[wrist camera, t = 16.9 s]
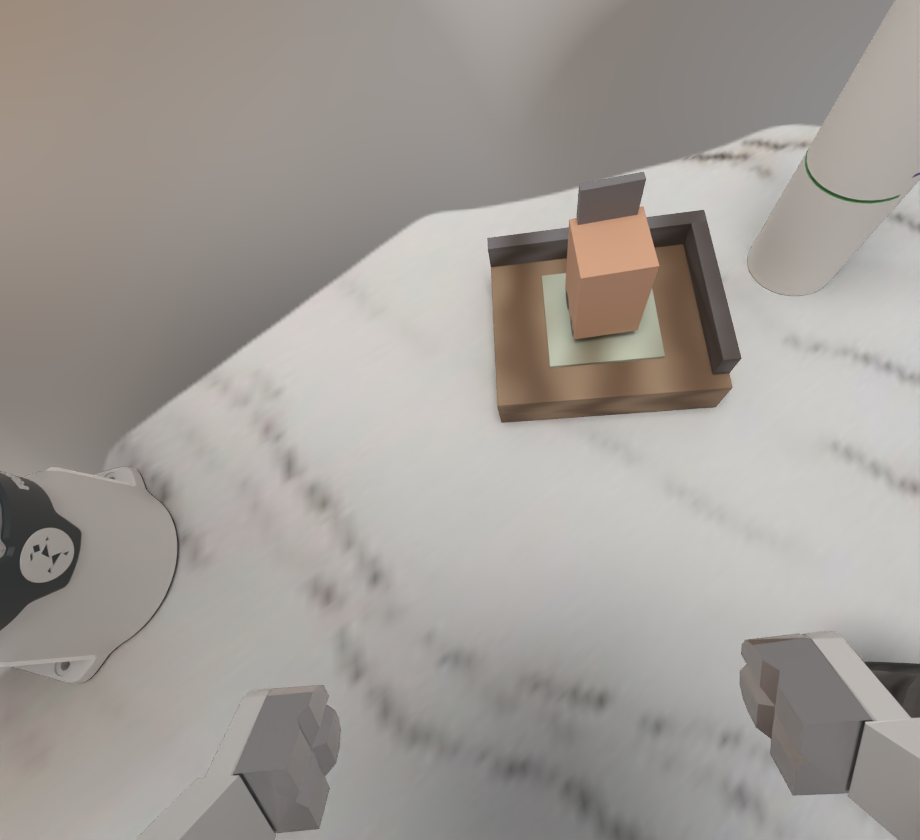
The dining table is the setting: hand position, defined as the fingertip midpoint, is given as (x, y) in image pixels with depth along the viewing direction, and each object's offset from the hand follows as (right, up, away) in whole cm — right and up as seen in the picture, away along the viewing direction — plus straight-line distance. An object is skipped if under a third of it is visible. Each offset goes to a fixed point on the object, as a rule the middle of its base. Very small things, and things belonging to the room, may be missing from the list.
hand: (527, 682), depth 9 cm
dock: (+11, +13, +35) cm, 39 cm away
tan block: (+10, +14, +31) cm, 36 cm away
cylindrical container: (+29, +19, +35) cm, 49 cm away
